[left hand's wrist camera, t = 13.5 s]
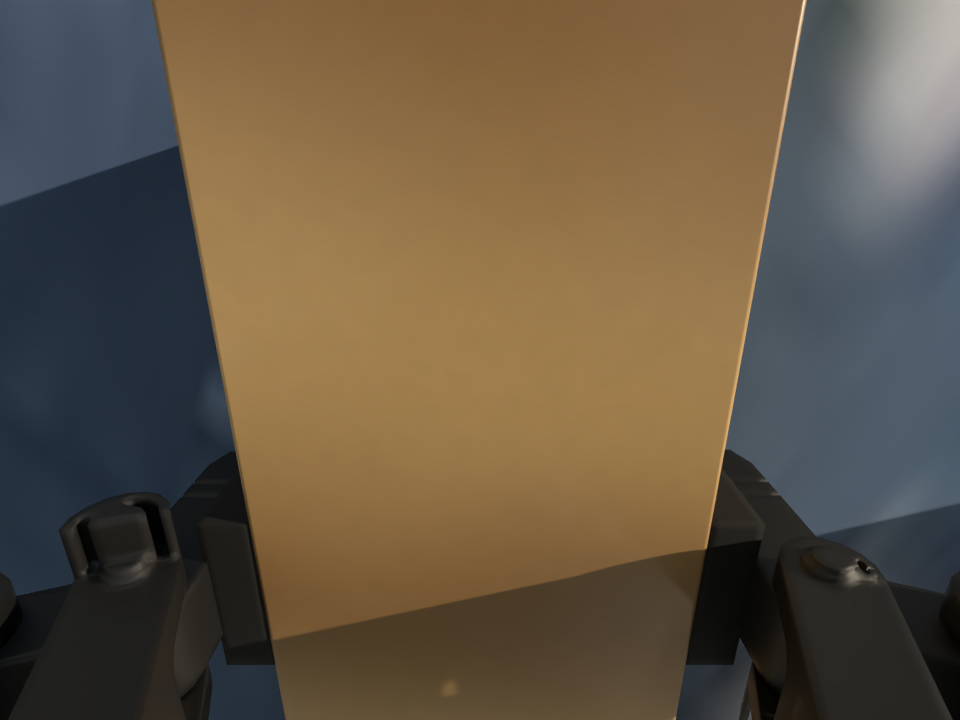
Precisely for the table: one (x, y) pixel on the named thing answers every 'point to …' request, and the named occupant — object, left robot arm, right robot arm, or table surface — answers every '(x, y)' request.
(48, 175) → the table surface
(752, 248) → the post
